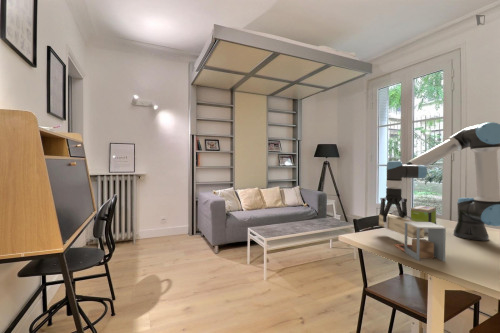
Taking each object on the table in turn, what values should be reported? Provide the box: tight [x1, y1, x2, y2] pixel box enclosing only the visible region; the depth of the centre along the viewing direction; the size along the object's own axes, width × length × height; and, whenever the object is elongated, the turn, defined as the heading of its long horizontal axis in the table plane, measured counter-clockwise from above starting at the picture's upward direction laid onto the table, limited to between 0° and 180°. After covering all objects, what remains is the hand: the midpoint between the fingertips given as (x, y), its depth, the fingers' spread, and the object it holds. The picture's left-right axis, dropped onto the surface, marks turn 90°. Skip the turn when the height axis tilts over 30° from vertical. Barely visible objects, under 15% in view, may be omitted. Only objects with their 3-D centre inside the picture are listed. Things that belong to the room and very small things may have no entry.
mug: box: [391, 209, 412, 220], centre depth 159 cm, size 12×8×11 cm
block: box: [411, 238, 435, 260], centre depth 110 cm, size 6×6×7 cm
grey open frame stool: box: [394, 221, 447, 262], centre depth 114 cm, size 12×19×15 cm, turn 176°
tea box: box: [410, 205, 437, 234], centre depth 155 cm, size 15×10×15 cm
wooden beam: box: [378, 213, 425, 239], centre depth 131 cm, size 6×26×7 cm, turn 7°
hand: (392, 227), depth 136 cm, fingers closed on wooden beam, 7 cm apart
